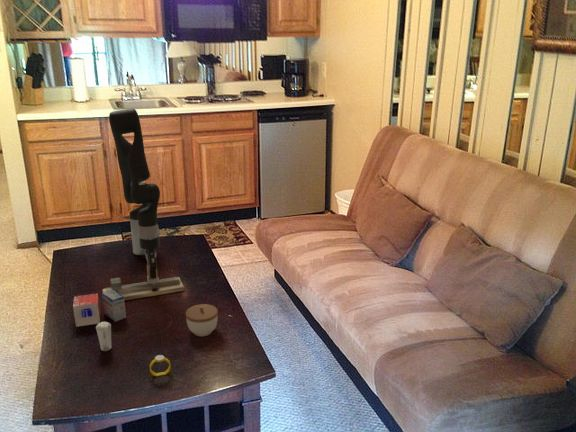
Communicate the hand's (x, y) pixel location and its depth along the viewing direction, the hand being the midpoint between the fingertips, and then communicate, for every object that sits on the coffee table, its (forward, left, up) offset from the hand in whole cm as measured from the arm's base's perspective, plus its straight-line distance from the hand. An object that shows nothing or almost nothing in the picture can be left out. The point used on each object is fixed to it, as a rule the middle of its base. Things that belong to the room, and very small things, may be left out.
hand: (152, 275), depth 204 cm
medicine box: (+16, -16, -6) cm, 23 cm away
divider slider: (0, 0, -4) cm, 4 cm away
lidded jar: (+38, +11, -6) cm, 40 cm away
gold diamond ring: (+57, -6, -6) cm, 58 cm away
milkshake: (+37, -20, -6) cm, 43 cm away
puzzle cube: (+15, -25, -6) cm, 30 cm away
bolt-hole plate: (0, -4, -6) cm, 7 cm away
